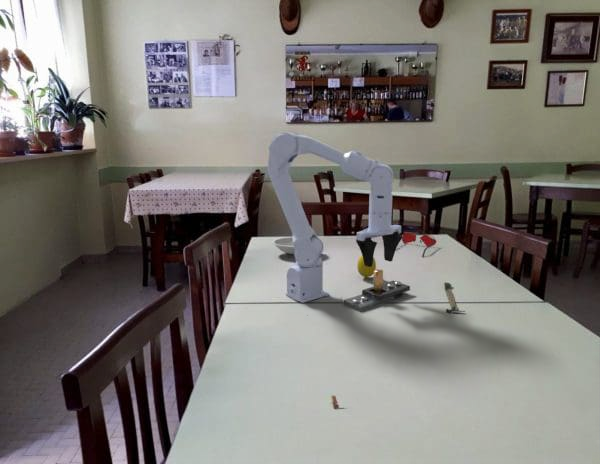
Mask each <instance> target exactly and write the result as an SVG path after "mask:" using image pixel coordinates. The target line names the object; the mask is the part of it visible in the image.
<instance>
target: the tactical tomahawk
mask: <svg viewBox="0 0 600 464" xmlns="http://www.w3.org/2000/svg"><path fill="white" fill-rule="evenodd" d="M443 285H444V291H445V294H446V297H447V299H448V303H449V305H450V308H449V309H448V308H446V309H445V312H446V314H455V315H462V316H463V315H464V316H465V315H467V313H466V311H465V310H460V309H459V308H458V307H457V305H456V302H455V298H454V295H453V291H452V284H451V283H449V282H444V284H443Z"/></svg>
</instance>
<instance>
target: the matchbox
mask: <svg viewBox="0 0 600 464" xmlns="http://www.w3.org/2000/svg"><path fill="white" fill-rule="evenodd" d="M337 396H340V395H337ZM330 399H331V402H330V404H332V408H333V409H336V410H338V409H343V407H340V406H339V403H338V400H337V397H336V395H332V394H331V398H330Z"/></svg>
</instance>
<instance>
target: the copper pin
mask: <svg viewBox="0 0 600 464" xmlns="http://www.w3.org/2000/svg"><path fill="white" fill-rule="evenodd" d="M383 280H384V269H381V268H380V269H377V268H376V269H375V270H374V274H373V284H372V285H373V286H372V287H373V293H376V294H380V293H382V289H383V283H384V281H383Z"/></svg>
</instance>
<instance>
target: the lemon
mask: <svg viewBox="0 0 600 464" xmlns="http://www.w3.org/2000/svg"><path fill="white" fill-rule="evenodd" d="M356 266H357V267H356V268H357V272H358V273H359V275H360V276H362V277H364V278H365V279H368V278H369V277H371V276H374V270H376V269H377V262H376V259H375V257H374V256H373V264H372V267H368V266H365V265H364V260H363V256H362V255H360V257H359V258H358V260H357V265H356Z"/></svg>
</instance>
